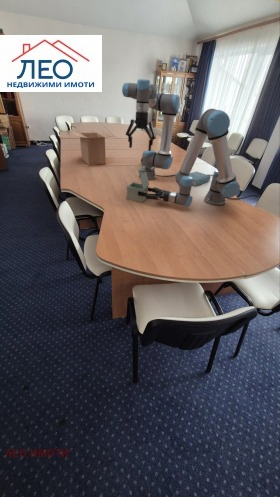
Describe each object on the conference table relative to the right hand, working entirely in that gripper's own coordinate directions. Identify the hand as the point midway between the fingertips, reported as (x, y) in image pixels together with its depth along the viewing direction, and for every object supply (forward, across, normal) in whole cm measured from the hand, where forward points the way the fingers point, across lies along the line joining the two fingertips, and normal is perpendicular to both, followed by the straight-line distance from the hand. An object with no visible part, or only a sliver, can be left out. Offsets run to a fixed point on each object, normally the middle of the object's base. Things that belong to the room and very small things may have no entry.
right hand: (140, 190), depth 162 cm
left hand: (+3, 0, +28) cm, 28 cm away
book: (-30, +62, -6) cm, 69 cm away
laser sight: (+24, +90, -6) cm, 93 cm away
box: (+81, +65, -6) cm, 104 cm away
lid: (-1, 0, +10) cm, 10 cm away
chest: (+3, 0, -6) cm, 7 cm away
